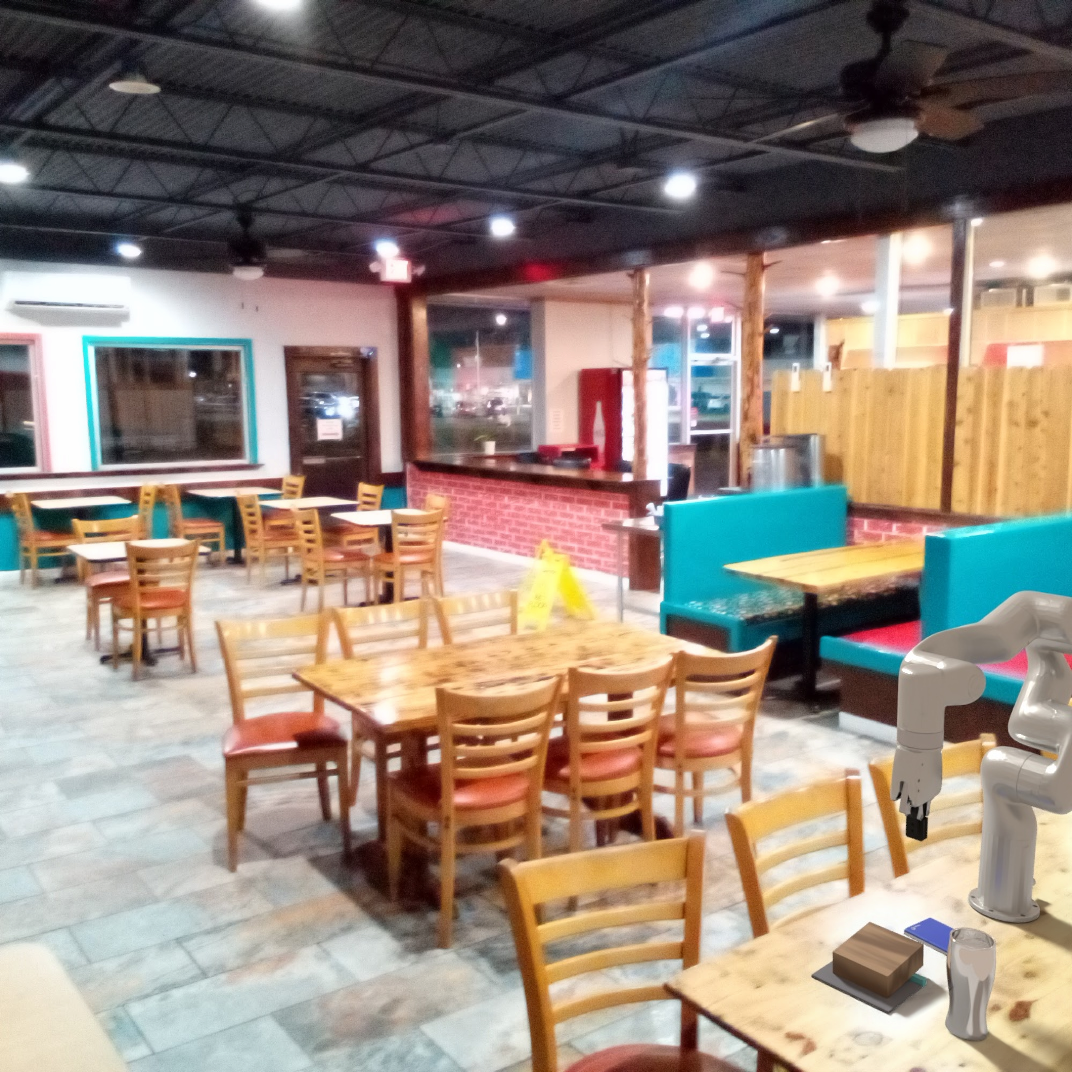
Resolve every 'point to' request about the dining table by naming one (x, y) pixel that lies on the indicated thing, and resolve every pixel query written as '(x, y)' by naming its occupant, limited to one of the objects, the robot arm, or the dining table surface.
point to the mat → (864, 994)
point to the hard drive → (930, 934)
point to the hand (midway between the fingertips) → (916, 837)
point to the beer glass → (969, 981)
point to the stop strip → (918, 979)
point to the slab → (878, 959)
